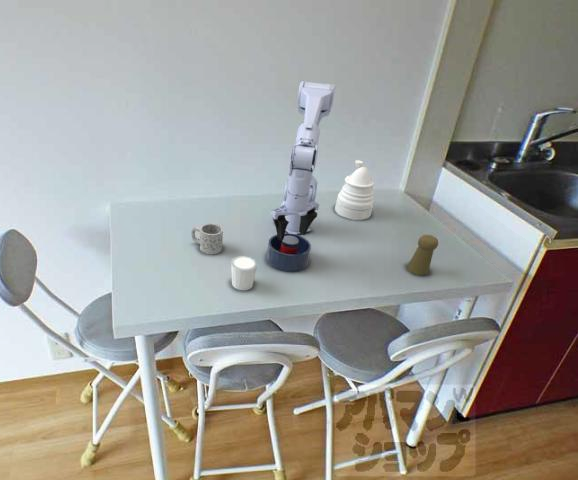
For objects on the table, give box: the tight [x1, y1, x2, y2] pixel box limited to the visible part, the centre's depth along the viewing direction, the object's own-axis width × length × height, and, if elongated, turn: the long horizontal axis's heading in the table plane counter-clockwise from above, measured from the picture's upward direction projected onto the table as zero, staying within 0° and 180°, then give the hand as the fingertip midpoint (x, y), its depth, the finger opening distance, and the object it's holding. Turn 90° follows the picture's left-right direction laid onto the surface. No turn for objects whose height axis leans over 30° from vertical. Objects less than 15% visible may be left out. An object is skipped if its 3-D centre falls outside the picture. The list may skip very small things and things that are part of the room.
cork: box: [406, 234, 439, 277], centre depth 121 cm, size 6×6×11 cm
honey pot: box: [334, 159, 375, 221], centre depth 147 cm, size 13×13×18 cm
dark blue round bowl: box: [266, 232, 312, 273], centre depth 123 cm, size 12×12×6 cm
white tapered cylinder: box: [230, 255, 258, 291], centre depth 112 cm, size 7×7×7 cm
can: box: [280, 236, 299, 255], centre depth 122 cm, size 5×5×6 cm
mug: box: [191, 223, 224, 255], centre depth 126 cm, size 10×7×7 cm, turn 65°
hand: (291, 236), depth 120 cm, fingers open, 7 cm apart
